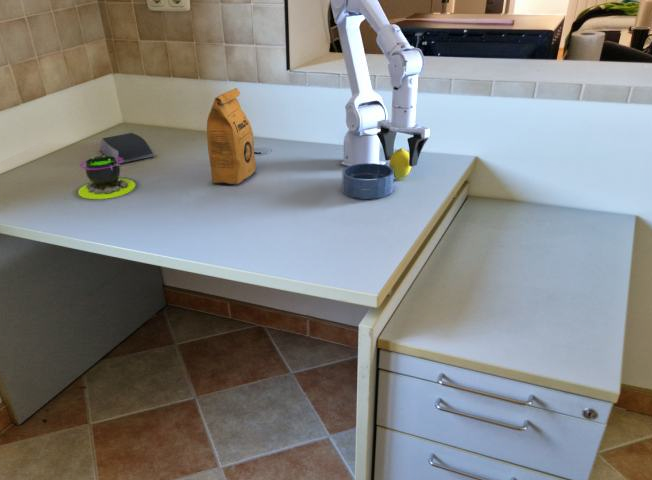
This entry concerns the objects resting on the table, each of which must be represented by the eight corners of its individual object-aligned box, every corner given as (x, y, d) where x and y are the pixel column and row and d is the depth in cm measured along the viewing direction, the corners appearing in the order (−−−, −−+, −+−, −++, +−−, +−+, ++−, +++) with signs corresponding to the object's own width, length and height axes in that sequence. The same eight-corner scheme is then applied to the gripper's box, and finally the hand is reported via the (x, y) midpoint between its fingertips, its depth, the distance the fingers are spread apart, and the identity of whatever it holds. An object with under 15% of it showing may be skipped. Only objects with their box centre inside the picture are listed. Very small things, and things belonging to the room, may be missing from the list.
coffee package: (262, 173, 163) (256, 87, 150) (239, 188, 154) (230, 98, 141) (231, 169, 167) (222, 85, 154) (206, 184, 158) (195, 96, 146)
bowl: (332, 192, 148) (331, 172, 145) (365, 179, 155) (365, 159, 152) (370, 204, 140) (371, 183, 138) (403, 189, 147) (404, 169, 144)
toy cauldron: (146, 182, 162) (139, 141, 156) (111, 202, 151) (102, 158, 145) (102, 177, 167) (93, 137, 161) (66, 195, 156) (54, 153, 150)
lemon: (412, 176, 154) (414, 145, 150) (408, 184, 150) (410, 152, 146) (390, 175, 156) (392, 144, 151) (386, 182, 152) (388, 151, 147)
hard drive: (114, 166, 175) (111, 152, 173) (97, 150, 190) (94, 137, 187) (156, 157, 180) (154, 143, 178) (137, 142, 194) (135, 130, 192)
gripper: (369, 105, 145) (368, 160, 153) (418, 113, 136) (414, 172, 144) (388, 99, 149) (386, 154, 157) (436, 107, 140) (432, 164, 148)
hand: (400, 162), depth 150 cm, fingers open, 7 cm apart
